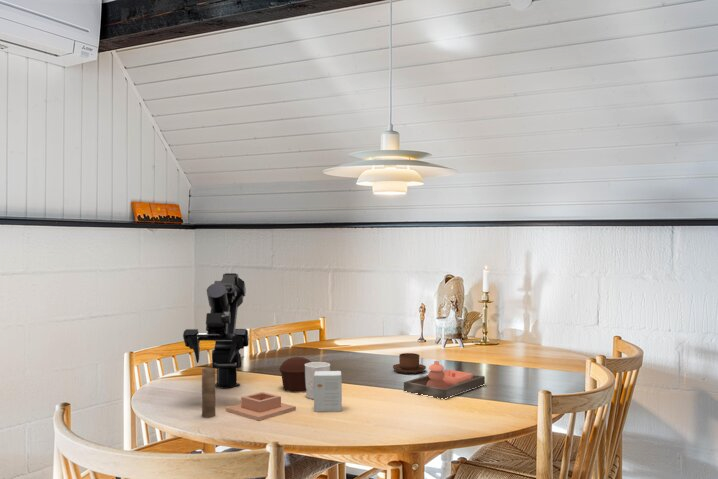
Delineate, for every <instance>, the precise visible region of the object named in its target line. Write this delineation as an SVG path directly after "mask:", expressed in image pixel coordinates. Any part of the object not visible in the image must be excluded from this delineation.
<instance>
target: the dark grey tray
mask: <svg viewBox="0 0 718 479" xmlns="http://www.w3.org/2000/svg"><path fill="white" fill-rule="evenodd" d="M446 370H447V369H444V370H443V371H446ZM485 377H486V376H484V375H480V374H473V379H471V380H468V381H465V382H462V383H459V384H456V385H453V386H450V387H447V388H444V389H442V388H437V387H432V386H427V385H426V384H427V382H428V381H429V380H430V378H429V376H428V374H427V375H424V376H423V375H422V376H420V377H417V378H413V379H410V380H409V379H408V380H407V381H403V392H404V391H407V392H406V393H409V392H413V393H418V394H423V395H428V396H433V397H438V398H443V399H445V398H447V397H450V396H452V395H455V394H458V393H460V392H463V391H466V390H469V389H472V388H475V387H478V386H480V385H483V384H485V383H486V382H485V381H486V380H485V379H486V378H485ZM485 385H486V384H485ZM413 393H412V394H413ZM418 394H417V395H418ZM423 395H422V396H423ZM428 396H427V397H428ZM433 397H432V398H433ZM438 398H437V399H438ZM443 399H442V400H443ZM445 400H446V399H445Z"/></svg>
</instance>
